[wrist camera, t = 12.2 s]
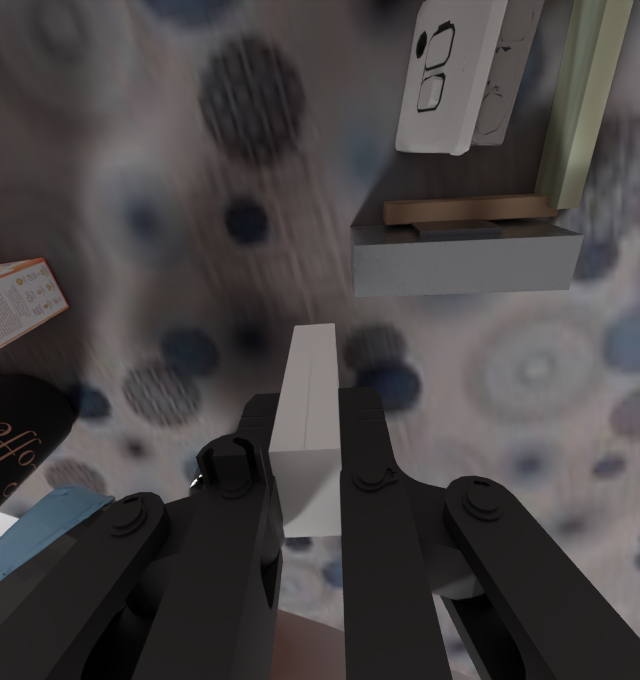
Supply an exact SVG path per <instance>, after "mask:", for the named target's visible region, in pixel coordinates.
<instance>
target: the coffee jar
mask: <svg viewBox="0 0 640 680" xmlns="http://www.w3.org/2000/svg"><path fill="white" fill-rule="evenodd" d="M72 418H73V413H72V410H71V406H70V404H69V403H68V401H67V400H66V398H65V397H64V396H63V395H62V394H61V393H60V392H59V391H58V390H57V389H56V388H55V387H53V386H51V385H50V384H48V383H46V382H44V381H43V380H40V379H37V378H34V377H31V376H23V375H15V376H13V375H10V376H4V377H0V506H1V505H2V504H3V503H4V502H5V501H6V500H7V499H8V498H9V497H10V496H11V495H12V494H13V493H14V492H15V491H16V490H17V489H18V487H19V486H20V485H21V484H22V483H23V482H24V481H25V480H26V479H27V478H28V477H29V476H30V475H31V474H32V473H33V472H34V471H35V470H36V469H37V468H38V467H39V466H40V465H41V464H42V462H43V461H44V460H45V459H46V458H47V457H48V456H49V455H50V454H51V453H52V452H53V451H54V450H55V449H56V448H57V447H58V446H59V445H60V444H61V443H62V442H63V441H64V440H65V438H66V437H67V436H68V434H69V433H70V432H71V428H72V421H73V419H72Z"/></svg>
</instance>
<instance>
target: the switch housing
mask: <svg viewBox="0 0 640 680" xmlns="http://www.w3.org/2000/svg"><path fill="white" fill-rule="evenodd" d="M350 234H351V272H352V281H353V289H354V297H355V298H358V297H384V296H411V295H438V294H465V293H492V292H519V291H546V290H569V287H570V284H571V280H572V277H573V273H574V270H575V266H576V262H577V259H578V255H579V252H580V248H581V245H582V241H583V238H584V235H582V234H579V233H576V232H573V231H570V230H567V229H564V228H561V227H558V226H554V225H551V224H548V223H545V222H542V221H539V220H536V219H533V218H513V219H493V220H485V219H469V220H449V221H429V222H410V224H394V225H366V226H350Z"/></svg>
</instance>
